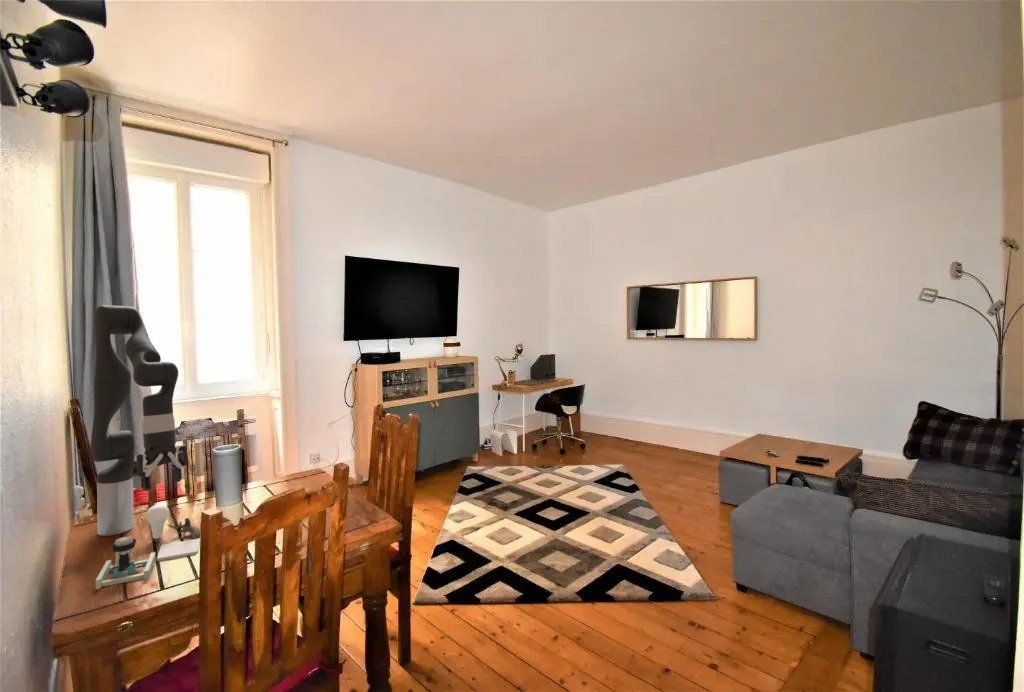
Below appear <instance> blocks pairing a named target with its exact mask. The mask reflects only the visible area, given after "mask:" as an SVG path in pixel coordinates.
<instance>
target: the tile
mask: <svg viewBox="0 0 1024 692" xmlns="http://www.w3.org/2000/svg"><path fill="white" fill-rule="evenodd" d="M200 545H201V538H197V539H194V538H193V539H187V540H183V541H178V542H172V543H171V542H170V543H166V544H161V546H160V548H159V552H158V554H157V558H156V562H159V561H165V560H171V559H177V558H182V557H188V556H193V555H198V554H199V551H200V550H199V549H200Z"/></svg>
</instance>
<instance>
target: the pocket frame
mask: <svg viewBox="0 0 1024 692" xmlns="http://www.w3.org/2000/svg"><path fill="white" fill-rule="evenodd" d="M155 562H156V551H154V552H153V551H152V552H150V554H149V557H148V559H143V560H138V561H134V563H135V565H140V564H142V565H141V566H140V567H143V566H145V568H144V569H143V572H142V573H137V574H130V575H127V576H125V577H120V578H115V579H114V578H111V579H107V577H108V575H109V574H110V572H113V569H112V568H113V567H114V565H112V559H109V560H106V561H105V563H104V565H103V566H102V568H101V569H100V572H99V573H98V576H97V577H96V578H95V590H101V588H102V587H108V586H112V585H118V584H121V583H123V584H124V583H128V582H133V581H137V580H143V581H146V580H149V579H150V576H151V573H152V570H153V568H154V565H155Z"/></svg>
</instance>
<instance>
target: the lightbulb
mask: <svg viewBox="0 0 1024 692" xmlns="http://www.w3.org/2000/svg"><path fill="white" fill-rule="evenodd" d="M169 516H170V509H169V507H167V506H166V505H165V504H155V505H152V506H151V507H150V508H149V509H147V511H146V512H145V520H146V522H147V524H149V526H150V530H151V532H152V538H153V539H155V540H159V539H160V538H162V537H163V532H164V528H165V523H166V521H167V520H168V518H169Z"/></svg>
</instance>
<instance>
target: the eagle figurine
mask: <svg viewBox="0 0 1024 692" xmlns="http://www.w3.org/2000/svg"><path fill="white" fill-rule="evenodd" d="M178 523H179V524H178ZM168 527H169V528H172V529H174V530H176V531H177V532H178V534H180V535H181V536H180V540H182V539H183V538H185V536H186V534H187V533H190V534H191V537H192V538H193V539H199V538H200V528H198V527H196V526H194V525H192V522H191V521H190V518H188V517H184V524H183V523H182V521H179V522H177V521H175V522H174V525H171V524H168ZM200 539H201V538H200Z"/></svg>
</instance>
